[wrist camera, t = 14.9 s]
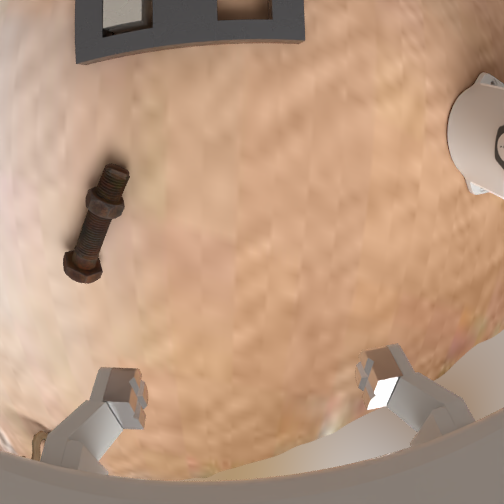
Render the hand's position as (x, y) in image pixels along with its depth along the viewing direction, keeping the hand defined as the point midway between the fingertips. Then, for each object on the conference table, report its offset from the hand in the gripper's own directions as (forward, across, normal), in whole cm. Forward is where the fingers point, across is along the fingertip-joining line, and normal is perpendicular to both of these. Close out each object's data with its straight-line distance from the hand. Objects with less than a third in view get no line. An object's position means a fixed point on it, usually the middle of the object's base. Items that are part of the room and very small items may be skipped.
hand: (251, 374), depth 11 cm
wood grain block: (+29, +10, -19) cm, 36 cm away
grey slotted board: (+29, +4, -20) cm, 35 cm away
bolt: (+30, +16, +5) cm, 34 cm away
